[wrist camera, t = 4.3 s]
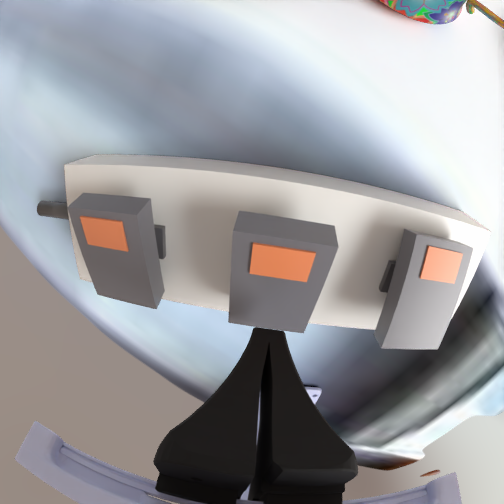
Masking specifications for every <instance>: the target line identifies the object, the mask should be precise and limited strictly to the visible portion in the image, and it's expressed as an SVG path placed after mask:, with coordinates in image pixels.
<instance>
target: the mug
mask: <svg viewBox="0 0 504 504" xmlns="http://www.w3.org/2000/svg"><path fill="white" fill-rule="evenodd" d="M380 1H381V2H382V3H384V4H385V5H387V6H388V7H390V8H392V9H393V10H395V11H397V12H399V13H401V14H403V15H405V16H407V17H409V18H412V19H414V20H417V21H420V22H424V23H429V24H446V23H450V22H452V21H454V20H455V19H456V18H457V17H458V16H459V14H460V13H461V10H462V6H463V4H464V3H465V2H466V0H380ZM474 7H475V8H476V9H478V10H479V11H480V12H482V13H483V14H484V15H485V16H487V17H488V18H489V19H491V20H492V21H493V22H495V23H496V24H497V25H499V26H500V27H502V28H503V29H504V20H502V19H501V18H500V17H498V16H497V15H496V14H494V13H493V12H492V11H490V10H489V9H488V8H486V7H485V6H484V5H482V4H481V3H480V2H478V1H477V0H468V1H467V3H466V9H467V12H468V13H469V14H473V13H474Z"/></svg>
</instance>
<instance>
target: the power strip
mask: <svg viewBox="0 0 504 504" xmlns="http://www.w3.org/2000/svg"><path fill="white" fill-rule="evenodd" d="M64 172H65V187H66V198H67V203H62V202H51V201H40V202H39V204H38V206H37V213H38V214H39V215H40V216H47V217H54V218H61V219H68V220H69V223H70V229H71V236H72V242H73V247H74V253H75V258H76V263H77V267H78V272H79V276H80V279H82V280H85V281H89V282H92V279H91V277H90V274H89V272H88V269H87V266H86V264H85V261H84V258H83V256H82V253H81V250H80V247H79V244H78V241H77V238H76V235H75V232H74V228H73V225H72V222H71V218H70V215H69V211H68V208H67V207H68V206H69V205H70V204H71V203H72V202H73V201H75V200H76V199H77V198H78V197H79V196H80V195H81V194H82V193H95V194H107V195H119V196H130V197H141V198H151V205H152V213H153V221H154V229H155V236H156V243H157V249H158V255H159V262H160V267H161V273H162V279H163V284H164V289H165V292H164V294H163V296H162V298H161V299H165V300H170V301H174V302H179V303H184V304H190V305H195V306H200V307H205V308H211V309H217V310H222V311H228V312H229V297H230V276H231V256H232V237H233V229H234V225H235V222H236V219H237V216H238V213H239V211H246V212H253V213H259V214H266V215H273V216H279V217H286V218H292V219H298V220H304V221H310V222H316V223H322V224H328V225H334V226H335V230H336V236H337V241H338V250H337V253H336V255H335V258H334V261H333V263H332V266H331V268H330V271H329V274H328V276H327V279H326V281H325V284H324V286H323V289H322V291H321V293H320V296H319V298H318V301H317V303H316V305H315V308H314V310H313V313H312V315H311V317H310V319H309V322H308V323H312V324H321V325H330V326H340V327H350V328H362V329H374V330H375V329H376V326H377V323H378V320H379V317H380V315H381V312H382V309H383V305H384V302H385V299H386V296H387V293H388V289H389V286H390V283H391V279H392V276H393V272H394V268H395V265H396V261H397V257H398V253H399V249H400V245H401V240H402V236H403V231H404V229H408V230H413V231H417V232H421V233H426V234H430V235H434V236H438V237H442V238H446V239H450V240H454V241H458V242H461V243H463V244H465V245H468V246H470V247H472V248H473V252H472V256H471V260H470V263H469V267H468V270H467V274H466V277H465V280H464V283H463V286H462V289H461V292H460V295H459V298H458V301H457V304H456V307H455V309H454V312H453V315H454V313H455V311H456V310H457V308H458V306H459V304H460V302H461V300H462V298H463V296H464V294H465V292H466V290H467V288H468V286H469V284H470V282H471V280H472V278H473V276H474V273H475V271H476V269H477V267H478V264H479V262H480V260H481V257H482V255H483V252H484V250H485V247H486V245H487V242H488V239H489V236H490V234H491V231H490V230H488V229H487V228H486V227H484V226H483V225H482V224H480V223H479V222H477V221H476V220H475V219H473V218H472V217H470V216H469V215H467V214H466V213H464V212H462V211H459V210H456V209H453V208H450V207H447V206H444V205H441V204H437V203H434V202H431V201H427V200H424V199H421V198H417V197H414V196H410V195H406V194H403V193H399V192H395V191H391V190H387V189H383V188H379V187H375V186H371V185H367V184H362V183H358V182H353V181H349V180H344V179H339V178H334V177H329V176H324V175H319V174H314V173H308V172H302V171H296V170H290V169H284V168H278V167H271V166H264V165H256V164H249V163H241V162H232V161H223V160H213V159H202V158H189V157H174V156H156V155H122V154H96V155H93V156H90V157H86V158H83V159H80V160H77V161H74V162H71V163H68V164H65V165H64ZM453 315H452V317H453ZM452 317H451V318H452Z"/></svg>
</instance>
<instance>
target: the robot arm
mask: <svg viewBox="0 0 504 504" xmlns="http://www.w3.org/2000/svg"><path fill="white" fill-rule="evenodd" d="M320 394H321V389H320V388H317V387H304V385H303V383H302V381H301V379H300V377H299V374H298V372H297V370H296V367H295V365H294V362H293V360H292V357H291V354H290V351H289V348H288V344H287V340H286V336H285V333H284V331H279V330H272V329H265V328H258V327H255V328H253V332H252V335H251V338H250V340H249V343H248V345H247V347H246V349H245V351H244V352H243V354H242V356H241V358H240V360H239V361H238V363H237V364H236V366H235V367H234V369H233V370H232V372H231V373H230V374H229V376H228V377H227V378H226V380H225V381H224V382H223V384H222V385H221V386H220V387H219V388H218V389H217V391H216V392H215V393H214V394H213V395H212V396H211V397H210V398H209V399H208V400H207V401H206V402H205V403H204V404H203V405H202V406H201V407H200V408H199V409H197V410H196V411H195V412H194V413H193V414H192V415H191V416H190V417H188V418H187V419H186V420H184V421H183V422H182V423H180V424H179V425H177V426H176V427H175V428H173V429H172V430H170V432H169V433H168V434H167V435H166V437H165V438H164V440H163V441H162V443H161V444H160V446H159V448H158V450H157V453H156V455H155V458H154V465H155V466H156V468H157V469H158V471H159V472H160V473H159V477H158V480H157V482H156V481H153V480H150V479H147V478H144V477H141V476H138V475H135V474H133V473H130V472H127V471H125V470H122V469H120V468H117V467H115V466H112V465H110V464H108V463H105V462H103V461H101V460H99V459H97V458H94V457H92V456H90V455H88V454H86V453H84V452H82V451H80V450H78V449H76V448H74V447H73V446H71V445H69V444H67V443H65V442H64V441H63V440H62V439H61V438H60V437H59V436H58V435H57V434H56V433H54V432H53V431H51V430H50V429H48V428H46V427H45V426H43V425H41V424H40V423H38V422H37V421H35V422H34V423H33V425H32V427H31V429H30V430H29V432H28V434H27V436H26V438H25V439H24V442H23V443H22V445H21V447H20V449H19V451H18V453H17V455H16V457H15V460H16V461H17V462H18V463H20V464H21V465H22V466H23V467H25V468H26V469H27V470H29V471H30V472H31V473H33V474H34V475H36V476H37V477H38V478H40V479H41V480H43V481H44V482H45V483H47V484H48V485H50V486H51V487H53V488H54V489H56V490H57V491H59V492H61V493H62V494H64V495H65V496H67V497H69V498H71V499H72V500H74V501H76V502H77V503H79V504H171V503H168V502H165V501H162V500H159V499H157V498H154V497H151V496H155V497H158V498H161V499H164V500H168V501H171V502H175V503H180V504H462V503H461V497H460V491H459V485H458V480H457V475H456V473H455V472H454V473H451V474H448V475H445V476H442V477H439V478H437V479H435V480H433V481H431V482H429V483H428V484H427V485H423V486H420V487H416V488H412V489H408V490H404V491H400V492H395V493H391V494H386V495H381V496H375V497H369V498H362V499H355V500H346V501H342V493H343V492H344V491H345V483H347V482H348V481H350V480H352V479H353V478H354V477H355V476H356V475H357V474H358V466H357V461H356V457H355V454H354V451H353V450H352V449H351V448H350V447H349V446H348V445H347V444H346V443H345V442H344V441H343V440H342V439H341V438H340V437H339V436H338V435H337V434H336V432H335V431H334V430H333V429H332V428H331V427H330V425H329V424H328V423H327V421H326V420H325V419H324V417H323V416H322V415H321V413H320V412H319V410H318V409H317V407H316V406H315V403H316V401H317V400H318V398H319V396H320ZM147 494H148V495H151V496H148V495H147Z"/></svg>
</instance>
